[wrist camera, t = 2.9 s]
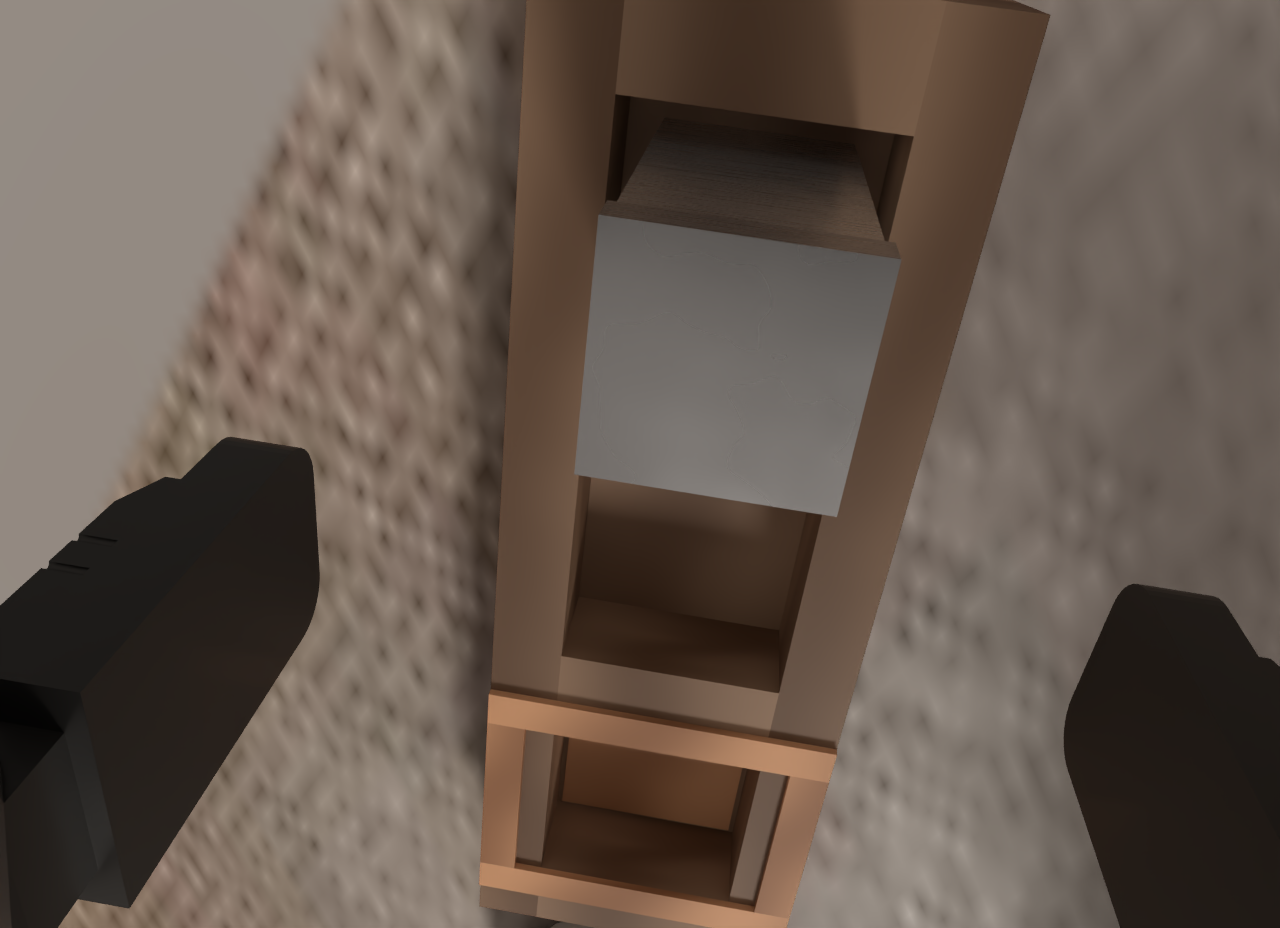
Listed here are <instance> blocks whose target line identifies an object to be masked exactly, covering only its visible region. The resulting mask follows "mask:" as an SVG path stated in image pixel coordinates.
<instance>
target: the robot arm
mask: <svg viewBox="0 0 1280 928" xmlns="http://www.w3.org/2000/svg"><path fill="white" fill-rule="evenodd" d="M319 580H320V572H319V555H318V539H317V522H316V506H315V490H314V473H313V465H312V461H311V458H310V456H309V454H308V452H307V451H306V450H305V449H302V448H297V447H291V446H285V445H278V444H272V443H266V442H260V441H253V440H247V439H241V438H235V437H227V438H225V439H223V440H221V441H220V442H219V443H218V444H217V445H216V446H214V447H213V448H212V449H211V450H210V451H209V452H208V453H207V454H206V455H205V456H204V457H203V458H202V459H201V460H200V461H199V462H198V463H197V464H196V465H195V466H194V467H193V468H192V469H191V470H190V471H189V472H188V473H187V474H186V475H185V476H184V477H183V478H182V479H175V478H169V477H164V478H162V479H160V480H158V481H156V482H154V483H152V484H150V485H148V486H146V487H143V488H141V489H139V490H137V491H135V492H133V493H131V494H129V495H127V496H125V497H123V498H121V499H118V500H116V501H114V502H113V503H112V504H111V505H110V506H109V507H108V508H107V509H106V510H105V511H103V512H102V513H101V514H100V515H99V516H98V517H97V518H96V519H95V520H94V521H92V522H91V523H90V524H89V525H88V526H87V527H86V528H85V529H84V530H83V531H82V532H80V533H79V538H78V541H73V540H72V541H71V542H69V543H68V544H67V545H66V546H65V547H64V548H63V549H62V550H61V551H60V552H58V553H57V554H56V555H55V556H54V557H53V558H52V559H51V560H50V561H49V566H48V568H47V569H42V568H41V569H40V570H39V571H38V572H37V573H35V575H33V576H32V577H31V578H30V579H29V580H28V581H27V582H26V583H24V584H23V585H22V586H21V587H20V588H19V589H18V590H17V591H16V592H15V593H13V594H12V595H11V596H10V597H9V598H8V599H7V600H6V601H5V602H4V603H3V604H1V605H0V928H58V926H59V925H60V924H61V922H62V921H63V919H64V918H65V916H66V915H67V914H68V912H69V911H70V909H71V908H72V906H73V905H74V904H75V902H76V901H77V899H80V900H86V901H91V902H97V903H102V904H108V905H113V906H118V907H124V908H130V907H131V905H132V904H133V902H134V901H135V899H136V897H137V896H138V894H139V893H140V891H141V890H142V888H143V886H144V885H145V883H146V882H147V880H148V879H149V877H150V876H151V874H152V872H153V871H154V869H155V868H156V866H157V865H158V863H159V862H160V860H161V858H162V857H163V855H164V854H165V852H166V851H167V849H168V847H169V846H170V844H171V843H172V841H173V840H174V838H175V837H176V835H177V833H178V832H179V830H180V829H181V827H182V826H183V824H184V823H185V821H186V819H187V818H188V816H189V815H190V813H191V812H192V810H193V808H194V807H195V805H196V804H197V802H198V801H199V799H200V798H201V796H202V794H203V793H204V791H205V790H206V788H207V787H208V785H209V784H210V782H211V780H212V779H213V777H214V776H215V774H216V773H217V771H218V770H219V768H220V766H221V765H222V763H223V762H224V760H225V759H226V757H227V755H228V754H229V752H230V751H231V749H232V748H233V746H234V745H235V743H236V741H237V740H238V738H239V737H240V735H241V734H242V732H243V731H244V729H245V727H246V726H247V724H248V723H249V721H250V720H251V718H252V716H253V715H254V713H255V712H256V710H257V709H258V707H259V706H260V704H261V702H262V701H263V699H264V698H265V696H266V695H267V693H268V692H269V690H270V688H271V687H272V685H273V684H274V682H275V681H276V679H277V678H278V676H279V674H280V673H281V671H282V670H283V668H284V667H285V665H286V663H287V662H288V660H289V659H290V657H291V656H292V654H293V653H294V651H295V649H296V648H297V646H298V645H299V643H300V642H301V640H302V639H303V637H304V635H305V633H306V631H307V629H308V627H309V625H310V622H311V620H312V617H313V614H314V610H315V606H316V602H317V597H318V591H319ZM1064 753H1065V760H1066V765H1067V769H1068V772H1069V775H1070V778H1071V781H1072V784H1073V787H1074V790H1075V793H1076V796H1077V799H1078V802H1079V805H1080V808H1081V811H1082V814H1083V817H1084V820H1085V823H1086V826H1087V829H1088V832H1089V835H1090V838H1091V841H1092V844H1093V847H1094V850H1095V853H1096V856H1097V859H1098V862H1099V865H1100V868H1101V871H1102V874H1103V877H1104V880H1105V883H1106V886H1107V889H1108V892H1109V895H1110V898H1111V901H1112V904H1113V907H1114V910H1115V913H1116V916H1117V919H1118V922H1119V925H1120V928H1280V667H1279V666H1278V665H1277V664H1276V663H1275V662H1274V661H1272V660H1271V659H1268V658H1262V657H1258V655H1257V654H1256V652H1255V650H1254V649H1253V647H1252V646H1251V644H1250V642H1249V641H1248V639H1247V638H1246V636H1245V635H1244V633H1243V631H1242V630H1241V628H1240V627H1239V625H1238V623H1237V622H1236V620H1235V619H1234V617H1233V616H1232V614H1231V612H1230V611H1229V609H1228V608H1227V606H1226V605H1225V604H1224V603H1223V602H1222V601H1221V600H1220V599H1219V598H1216V597H1214V596H1209V595H1202V594H1196V593H1190V592H1184V591H1177V590H1171V589H1165V588H1159V587H1152V586H1146V585H1140V584H1131V585H1128V586H1127V587H1125V588H1124V589H1123V590H1122V591H1121V592H1120V594H1119V595H1118V597H1117V598H1116V600H1115V602H1114V604H1113V606H1112V608H1111V611H1110V613H1109V615H1108V617H1107V620H1106V622H1105V624H1104V627H1103V629H1102V631H1101V633H1100V636H1099V638H1098V640H1097V642H1096V645H1095V647H1094V649H1093V651H1092V654H1091V656H1090V658H1089V660H1088V663H1087V665H1086V667H1085V669H1084V672H1083V674H1082V676H1081V678H1080V681H1079V683H1078V685H1077V687H1076V690H1075V692H1074V694H1073V696H1072V699H1071V701H1070V704H1069V707H1068V711H1067V715H1066V720H1065V728H1064Z"/></svg>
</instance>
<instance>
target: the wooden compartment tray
mask: <svg viewBox="0 0 1280 928" xmlns="http://www.w3.org/2000/svg"><path fill="white" fill-rule="evenodd" d="M1049 18H1050V15H1049V14H1047V13H1044V12H1042V11H1039V10H1037V9H1034V8H1031V7H1029V6H1026V5H1024V4H1021V3H1019V2H1016V1H1012V0H526V20H525V39H524V58H523V78H522V97H521V116H520V135H519V155H518V174H517V193H516V213H515V232H514V251H513V271H512V290H511V309H510V328H509V348H508V367H507V386H506V406H505V425H504V444H503V464H502V483H501V502H500V522H499V541H498V560H497V579H496V599H495V618H494V637H493V657H492V676H491V690H490V693H489V701H488V721H487V741H486V761H485V780H484V800H483V820H482V839H481V859H480V879H479V885H481V888H480V906H481V907H486V908H492V909H497V910H503V911H508V912H513V913H519V914H524V915H530V916H535V917H540V918H546V919H551V920H556V921H562V922H567V923H573V924H578V925H583V926H589V927H594V928H787V924H788V921H789V917H790V914H791V911H792V907H793V904H794V900H795V897H796V894H797V890H798V887H799V883H800V880H801V876H802V873H803V870H804V866H805V863H806V859H807V856H808V853H809V849H810V846H811V842H812V839H813V835H814V832H815V829H816V825H817V822H818V818H819V815H820V811H821V808H822V805H823V801H824V798H825V794H826V791H827V788H828V784H829V781H830V777H831V774H832V770H833V767H834V764H835V760H836V757H837V746H838V743H839V739H840V736H841V733H842V729H843V726H844V722H845V719H846V715H847V712H848V709H849V705H850V702H851V698H852V695H853V691H854V688H855V684H856V681H857V678H858V674H859V671H860V667H861V664H862V660H863V657H864V654H865V650H866V647H867V643H868V640H869V636H870V633H871V629H872V626H873V623H874V619H875V616H876V612H877V609H878V605H879V602H880V599H881V595H882V592H883V588H884V585H885V581H886V578H887V575H888V571H889V568H890V564H891V561H892V557H893V554H894V550H895V547H896V544H897V540H898V537H899V533H900V530H901V526H902V523H903V520H904V516H905V513H906V509H907V506H908V502H909V499H910V496H911V492H912V489H913V485H914V482H915V478H916V475H917V471H918V468H919V465H920V461H921V458H922V454H923V451H924V447H925V444H926V441H927V437H928V434H929V430H930V427H931V423H932V420H933V417H934V413H935V410H936V406H937V403H938V399H939V396H940V392H941V389H942V386H943V382H944V379H945V375H946V372H947V368H948V365H949V362H950V358H951V355H952V351H953V348H954V344H955V341H956V337H957V334H958V331H959V327H960V324H961V320H962V317H963V313H964V310H965V307H966V303H967V300H968V296H969V293H970V289H971V286H972V283H973V279H974V276H975V272H976V269H977V265H978V262H979V258H980V255H981V252H982V248H983V245H984V241H985V238H986V234H987V231H988V228H989V224H990V221H991V217H992V214H993V210H994V207H995V204H996V200H997V197H998V193H999V190H1000V186H1001V183H1002V179H1003V176H1004V173H1005V169H1006V166H1007V162H1008V159H1009V155H1010V152H1011V149H1012V145H1013V142H1014V138H1015V135H1016V131H1017V128H1018V124H1019V121H1020V118H1021V114H1022V111H1023V107H1024V104H1025V100H1026V97H1027V94H1028V90H1029V87H1030V83H1031V80H1032V76H1033V73H1034V70H1035V66H1036V63H1037V59H1038V56H1039V52H1040V49H1041V45H1042V42H1043V39H1044V35H1045V32H1046V28H1047V25H1048V21H1049ZM664 117H665V118H672V119H679V120H686V121H694V122H701V123H708V124H715V125H722V126H729V127H736V128H743V129H750V130H757V131H764V132H771V133H778V134H785V135H792V136H799V137H806V138H813V139H820V140H827V141H834V142H841V143H848V144H855V146H856V149H857V153H858V156H859V159H860V162H861V165H862V169H863V172H864V175H865V178H866V182H867V185H868V188H869V191H870V195H871V198H872V201H873V204H874V207H875V211H876V214H877V217H878V220H879V224H880V227H881V230H882V233H883V236H884V240H885V241H889V242H895V243H896V245H897V248H898V251H899V254H900V256H901V259H902V260H901V264H900V268H899V272H898V276H897V280H896V284H895V288H894V292H893V296H892V300H891V304H890V308H889V312H888V315H887V319H886V323H885V327H884V331H883V335H882V339H881V343H880V347H879V351H878V355H877V359H876V363H875V367H874V371H873V375H872V379H871V383H870V387H869V391H868V395H867V399H866V403H865V407H864V411H863V415H862V419H861V423H860V427H859V431H858V435H857V439H856V443H855V447H854V451H853V455H852V459H851V463H850V467H849V471H848V475H847V479H846V483H845V487H844V491H843V495H842V499H841V503H840V507H839V511H838V515H837V517H834V516H828V515H821V514H815V513H809V512H803V511H797V510H790V509H784V508H778V507H772V506H766V505H760V504H753V503H747V502H741V501H735V500H729V499H723V498H716V497H710V496H704V495H698V494H692V493H686V492H679V491H673V490H667V489H661V488H655V487H649V486H642V485H636V484H630V483H624V482H618V481H612V480H605V479H599V478H593V477H587V476H581V475H574V471H575V460H576V450H577V439H578V428H579V417H580V407H581V396H582V385H583V375H584V364H585V353H586V343H587V332H588V321H589V310H590V300H591V289H592V278H593V268H594V257H595V246H596V236H597V225H598V215H599V213H600V211H601V210H602V208H603V206H604V205H605V203H606V201H607V200H610V201H617V200H618V199H619V197H620V195H621V193H622V192H623V190H624V188H625V186H626V184H627V183H628V181H629V179H630V177H631V176H632V174H633V172H634V170H635V169H636V167H637V165H638V163H639V161H640V160H641V158H642V156H643V154H644V153H645V151H646V149H647V147H648V145H649V144H650V142H651V140H652V138H653V137H654V135H655V133H656V131H657V130H658V128H659V126H660V124H661V122H662V121H663V119H664Z"/></svg>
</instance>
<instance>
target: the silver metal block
mask: <svg viewBox="0 0 1280 928" xmlns="http://www.w3.org/2000/svg"><path fill="white" fill-rule="evenodd" d="M901 260H902V259H901V256H900V254H899V251H898V248H897V245H896V243H895V242H889V241H885V240H884V236H883V233H882V230H881V227H880V224H879V220H878V217H877V214H876V211H875V207H874V204H873V201H872V198H871V195H870V191H869V188H868V185H867V182H866V178H865V175H864V172H863V169H862V165H861V162H860V159H859V156H858V153H857V149H856V146H855V144H848V143H841V142H834V141H827V140H820V139H813V138H806V137H799V136H792V135H785V134H778V133H771V132H764V131H757V130H750V129H743V128H736V127H729V126H722V125H715V124H708V123H701V122H694V121H686V120H679V119H672V118H665V117H664V119H663V121H662V122H661V124H660V126H659V128H658V130H657V131H656V133H655V135H654V137H653V138H652V140H651V142H650V144H649V145H648V147H647V149H646V151H645V153H644V154H643V156H642V158H641V160H640V161H639V163H638V165H637V167H636V169H635V170H634V172H633V174H632V176H631V177H630V179H629V181H628V183H627V184H626V186H625V188H624V190H623V192H622V193H621V195H620V197H619V199H618V200H617V201H610V200H607V201H606V203H605V205H604V206H603V208H602V210H601V211H600V213H599V215H598V225H597V236H596V246H595V257H594V268H593V278H592V289H591V300H590V310H589V321H588V332H587V343H586V353H585V364H584V375H583V385H582V396H581V407H580V417H579V428H578V439H577V450H576V460H575V471H574V475H581V476H587V477H593V478H599V479H605V480H612V481H618V482H624V483H630V484H636V485H642V486H649V487H655V488H661V489H667V490H673V491H679V492H686V493H692V494H698V495H704V496H710V497H716V498H723V499H729V500H735V501H741V502H747V503H753V504H760V505H766V506H772V507H778V508H784V509H790V510H797V511H803V512H809V513H815V514H821V515H828V516H834V517H837V515H838V511H839V507H840V503H841V499H842V495H843V491H844V487H845V483H846V479H847V475H848V471H849V467H850V463H851V459H852V455H853V451H854V447H855V443H856V439H857V435H858V431H859V427H860V423H861V419H862V415H863V411H864V407H865V403H866V399H867V395H868V391H869V387H870V383H871V379H872V375H873V371H874V367H875V363H876V359H877V355H878V351H879V347H880V343H881V339H882V335H883V331H884V327H885V323H886V319H887V315H888V312H889V308H890V304H891V300H892V296H893V292H894V288H895V284H896V280H897V276H898V272H899V268H900V264H901Z"/></svg>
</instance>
